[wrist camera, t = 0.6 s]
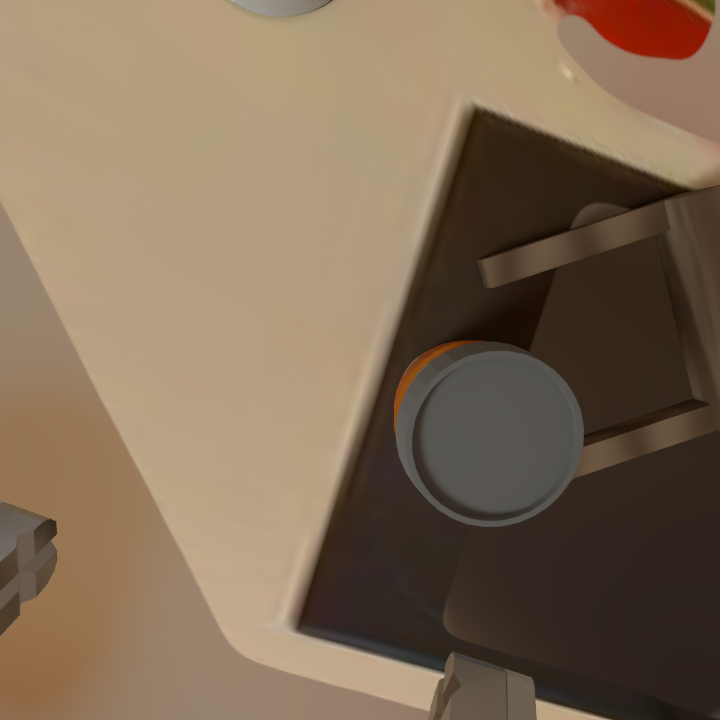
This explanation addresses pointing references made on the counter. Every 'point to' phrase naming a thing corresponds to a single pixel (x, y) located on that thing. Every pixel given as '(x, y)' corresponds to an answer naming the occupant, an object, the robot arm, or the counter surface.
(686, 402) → the walnut bay
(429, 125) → the counter surface
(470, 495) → the reusable coffee cup
